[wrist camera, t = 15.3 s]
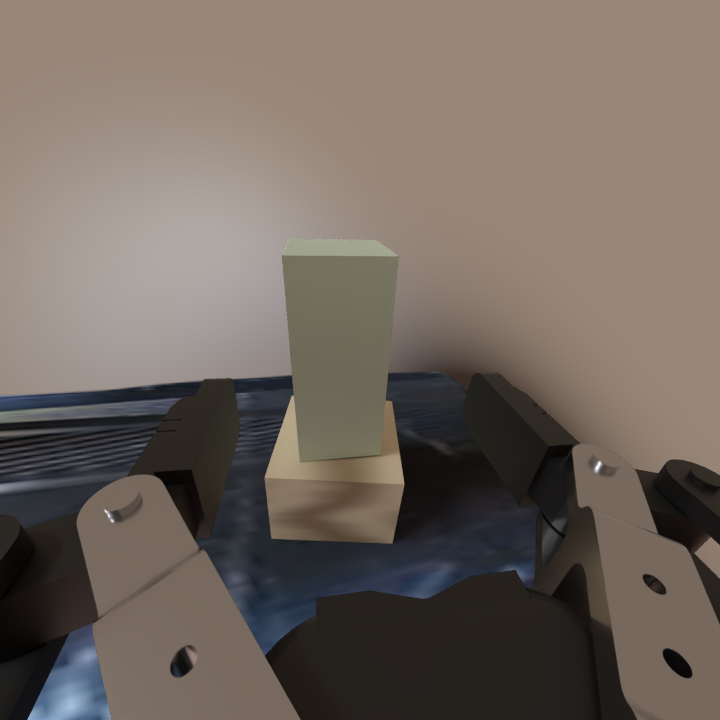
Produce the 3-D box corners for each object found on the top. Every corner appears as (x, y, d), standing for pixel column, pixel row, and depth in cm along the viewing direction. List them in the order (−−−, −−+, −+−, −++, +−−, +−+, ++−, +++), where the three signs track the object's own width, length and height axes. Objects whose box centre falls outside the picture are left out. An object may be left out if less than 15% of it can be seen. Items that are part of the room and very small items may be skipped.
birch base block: (271, 540, 20) (264, 477, 17) (294, 450, 27) (292, 395, 24) (392, 545, 20) (404, 484, 18) (383, 455, 27) (391, 401, 25)
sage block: (299, 461, 18) (282, 255, 13) (301, 410, 23) (288, 238, 17) (380, 454, 19) (398, 256, 13) (367, 405, 24) (376, 240, 18)
